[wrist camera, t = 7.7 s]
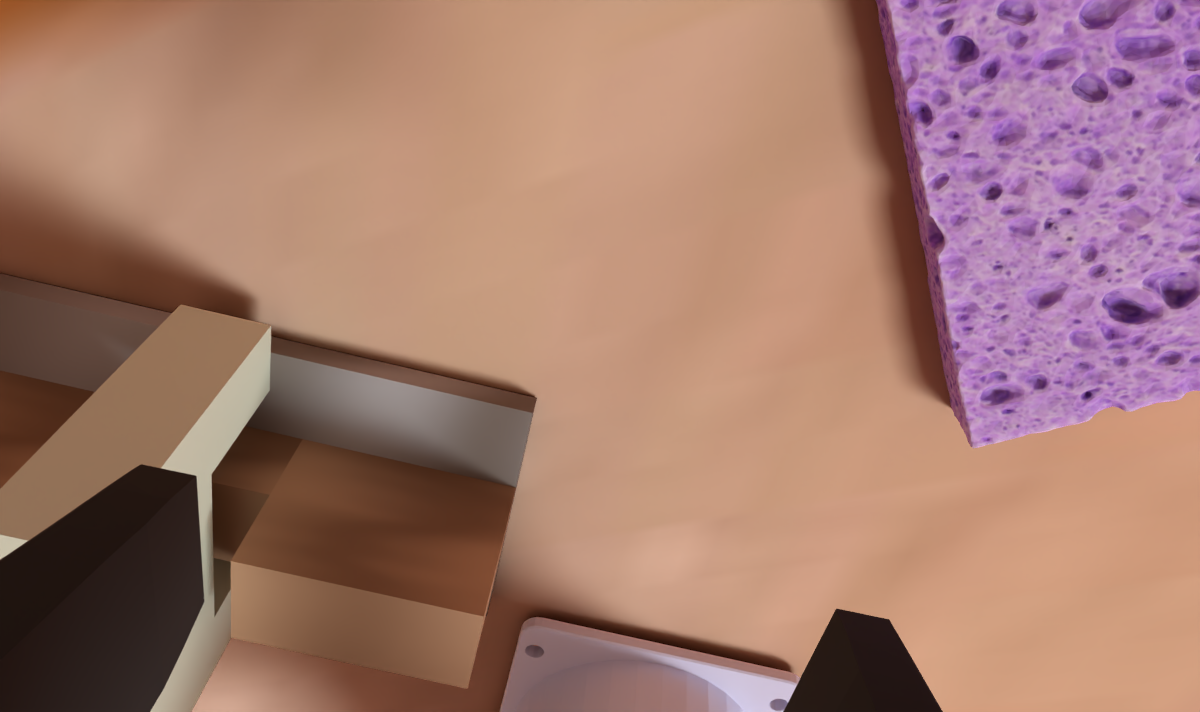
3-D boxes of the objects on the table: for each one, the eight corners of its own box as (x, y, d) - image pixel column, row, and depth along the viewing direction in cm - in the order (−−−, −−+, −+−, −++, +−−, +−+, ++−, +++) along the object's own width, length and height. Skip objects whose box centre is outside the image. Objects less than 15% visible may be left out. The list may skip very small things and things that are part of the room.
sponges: (946, 400, 21) (967, 451, 19) (825, -206, 15) (842, -205, 13) (1290, 321, 19) (1345, 370, 17) (1313, -403, 13) (1402, -430, 11)
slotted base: (536, 398, 21) (502, 537, 17) (491, 598, 25) (454, 749, 21) (-70, 257, 20) (-248, 369, 16) (-22, 485, 24) (-158, 620, 20)
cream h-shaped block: (265, 573, 24) (127, 829, 18) (190, 557, 24) (29, 809, 18) (271, 325, 20) (93, 554, 14) (181, 304, 20) (-36, 526, 14)
